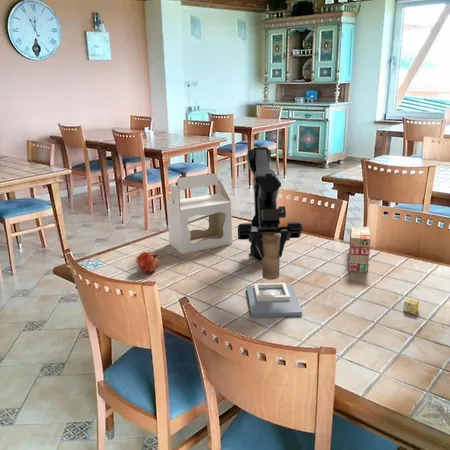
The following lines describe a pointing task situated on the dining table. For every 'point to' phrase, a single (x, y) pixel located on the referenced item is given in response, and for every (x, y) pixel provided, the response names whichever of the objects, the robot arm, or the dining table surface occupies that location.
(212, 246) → the gable box
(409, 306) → the alphabet block
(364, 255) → the stack of blocks
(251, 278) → the dining table surface
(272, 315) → the baseplate
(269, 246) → the walnut column
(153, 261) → the pomegranate
